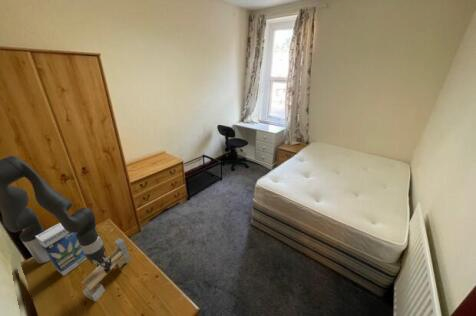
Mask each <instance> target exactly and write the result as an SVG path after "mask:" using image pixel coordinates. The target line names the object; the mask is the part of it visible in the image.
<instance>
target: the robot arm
mask: <svg viewBox="0 0 476 316" xmlns="http://www.w3.org/2000/svg"><path fill="white" fill-rule="evenodd" d="M23 178H26V180H28V181H29V182H30V184H31V186H32V188H33V193H34V197H35V200H36V202H37V204H38V205H39V206H40V207H41V208H42V209H44V210H45V211H47V212H48V213H50V214H52V215H53V216H54V217H55V219H56V220H57V221H58V222H59V223H61V225H62V226H63V227H64V229H65V230H66V231H68V232H71V233H76V232H77V234H76V238H77V240H78V242H79V243H80V246H81V249H82V251H83V252H84V254H85V256H86V258H87V259H86V260H89V261H90V263H91V264H92V265H93V264H94V266H96V268H97V267H98V266H99V265H100V266H102V267H103V269H104V271H105V273H107V274H108V273H109V272H110V271H111V270H110V266H111V265H112V262H111V258H109V259H107V256H106V253H105V251H106V247H105V245H104V243H103V241H102V238H101V237H100V235H99V234H98V231H97V229H96V216H95V213H94V210H92V209H91V208H89V207H86V206H85V207H81V208H79V209H77V210H76V211H75V212H73V213H72V214H70V215H69V214H68V212H69V211H70V210H71V209H72V207H73V202H72V201H71V200H69V199H68V198H66V196H64V195H63V194H61V193H60V192H58V191H57V190H55V188H53V187H52V186H51V185H50V184H49V183H48V182H47V181H46V180H45V179H44V178H43V176H41V175H40V174H39V173H38V172H36V171H35V169H33V167H31V166H30V165H29V164H28V163H27V162H25V161H24V160H23V159H22V158H20V157H18V156H16V155H14V156H13V155H8V156H5V157H4V158H1V159H0V213H1V217H2V221H3V225H4V227H5V228H6V229H7V230H8V231H9V232H11V233H19V232H21V233H20V234H19V239H20V241H21V242H22V244H23V245H24V246H25V247H26V249H27V250H28V251H29V253H30V255H31V256H32V257H33V258H34V260H35V261H36V262H37V264H45V263H47V262H49V261H51V260H50V258H49V257H48V255H47V254H46V252H45V251H44V249H43V248H42V246H41V245H40V243H39V242H38V240H37V239H36V237H35V236H37V235H39V234H41V233H43V232H44V231H46V230H45V228H44V226H43V225H42V223H41V221H40V220H39V217H38V215H37V213H36V212H35V211H34V210H33V209H32V208H30V207H28V205H29V196H28V192H27V191H26V189H24V188H22V187H19V186H14V185H11V184H13V183H15V182H17V181H18V180H20V179H23ZM101 263H102V264H101ZM104 264H105V266H104Z"/></svg>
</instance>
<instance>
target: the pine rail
mask: <svg viewBox="0 0 476 316" xmlns="http://www.w3.org/2000/svg"><path fill="white" fill-rule="evenodd" d="M122 256H123V255H122V252H120V251H118V250H117V249H115V250H114V251H113V252H112V253H110V254H109V256H106V258H107V259H109V258H111V262H112V265H111V266H110V271H111V270H112V269H113V268H115V265H116V264H117V263H116V262H117V261H118V260H119V259H120V258H121V257H122ZM101 264H102V263H101ZM104 266H105V264H104ZM107 274H108V273H105V271H104V269H103V267H102V266H100V265H99V266H98V267H97V266H96V267H95V269H94V270H93V271H92V272H90V274H88V275H87V276H86V277H85V278H84V279H83V280H82V281H81V284H82V285H83V287H84V289H85V288H87V289H89V290H92V289H93V288H94V287H95V286H96V284H97V283H100V282H101V281H102V280H103V279H104V277H105V276H106V275H107Z"/></svg>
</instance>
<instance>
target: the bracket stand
mask: <svg viewBox="0 0 476 316" xmlns="http://www.w3.org/2000/svg"><path fill="white" fill-rule="evenodd" d="M125 243H126V242H125V241H124V239H123V238H120V237H118V238H117V239H116V240H115V241H114V246H115V247H116V250H118V251H120V252H122V255H123V256H122V257H121V258H120V259H119V260H118V261H117V262H116V263H117V264H116V265H115V266H114V268H118V269H121V268H122V267H123V265H124V264H128V263H129V262H130V261H131V255H130V253H129V250H128V248H127V246H126V244H125ZM82 292H83V294H84V296H85V297H86V298H87V299H89V300H92V301H93V302H97V301H98V300H99V299H100V298H101V296H102V295H103V294H104V293H105V292H106V290H105V287H104V286H103V284H102V283H100V282H98V283H97V284H96V286H95V287H94V288H93V289H92V290H89V289H87V288H85V287H84V288H83V290H82Z"/></svg>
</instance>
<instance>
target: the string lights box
mask: <svg viewBox="0 0 476 316" xmlns="http://www.w3.org/2000/svg"><path fill="white" fill-rule="evenodd" d="M76 234H77V232H76V233H71V232H68V231H66V230H65V229H64V227H63V226H62V225H61V223H60V222H59V223H57V224H55V225H53V226H51V227H49V228H48V229H46V230H45V231H44V232H43V233H41V234H39V235H37V236H35V237H36V239H37V240H38V242H39V243H40V245H41V246H42V248H43V249H44V251H45V252H46V254H47V255H48V257H49V258H50V261H51V263H52V264H53V266H54V267H55V269H56V271H57V272H59V273H60V274H61V275H62V276H63V277H64V276H66V275H67V274H68V273H70V272H72V271H73V270H74V269H75V268H77V267H78V266H80V264H82V263H84V262H85V261H86V260H88V259H87V258H86V256H85V254H84V252H83V251H82V249H81V246H80V243H79V242H78V240H77V238H76Z"/></svg>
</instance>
